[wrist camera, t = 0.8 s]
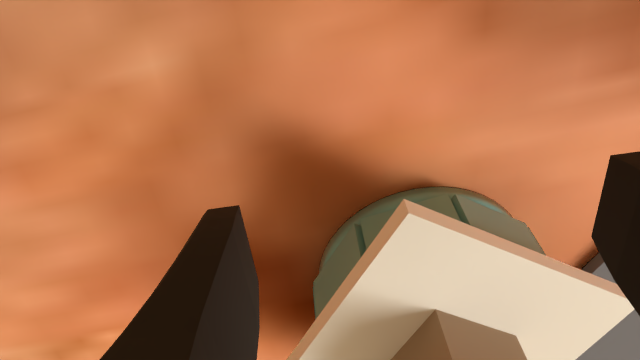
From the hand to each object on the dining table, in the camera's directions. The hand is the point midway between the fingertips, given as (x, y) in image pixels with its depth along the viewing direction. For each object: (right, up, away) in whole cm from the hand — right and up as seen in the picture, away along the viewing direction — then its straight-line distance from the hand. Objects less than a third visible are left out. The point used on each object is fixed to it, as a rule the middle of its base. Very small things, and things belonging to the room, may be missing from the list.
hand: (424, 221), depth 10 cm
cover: (+3, -6, +12) cm, 14 cm away
